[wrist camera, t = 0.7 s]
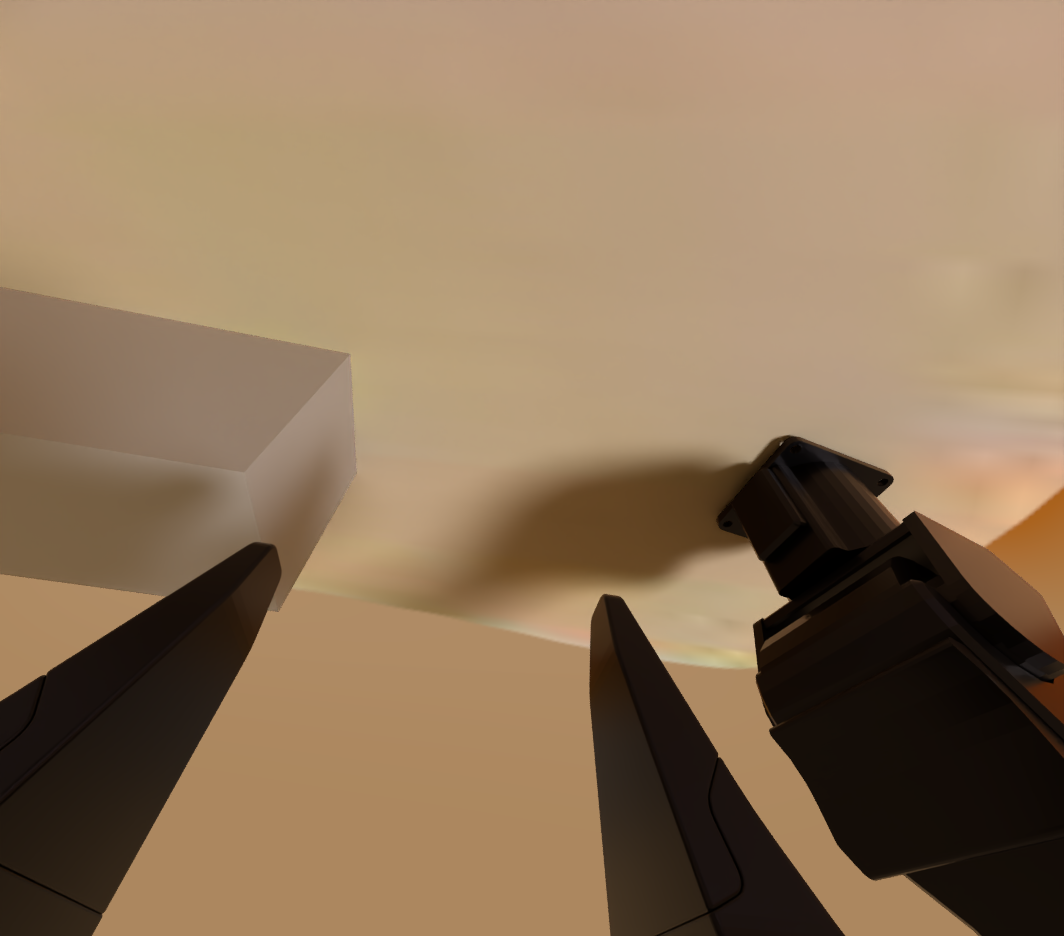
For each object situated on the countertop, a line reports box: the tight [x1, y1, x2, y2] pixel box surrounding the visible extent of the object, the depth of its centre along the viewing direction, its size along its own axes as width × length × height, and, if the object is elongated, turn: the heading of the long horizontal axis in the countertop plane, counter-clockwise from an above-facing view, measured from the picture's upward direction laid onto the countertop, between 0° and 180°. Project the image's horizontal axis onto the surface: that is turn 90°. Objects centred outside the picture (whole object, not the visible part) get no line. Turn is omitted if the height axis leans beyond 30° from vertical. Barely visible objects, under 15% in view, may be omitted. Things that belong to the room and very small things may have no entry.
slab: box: [0, 287, 357, 612], centre depth 18 cm, size 16×7×9 cm, turn 79°
